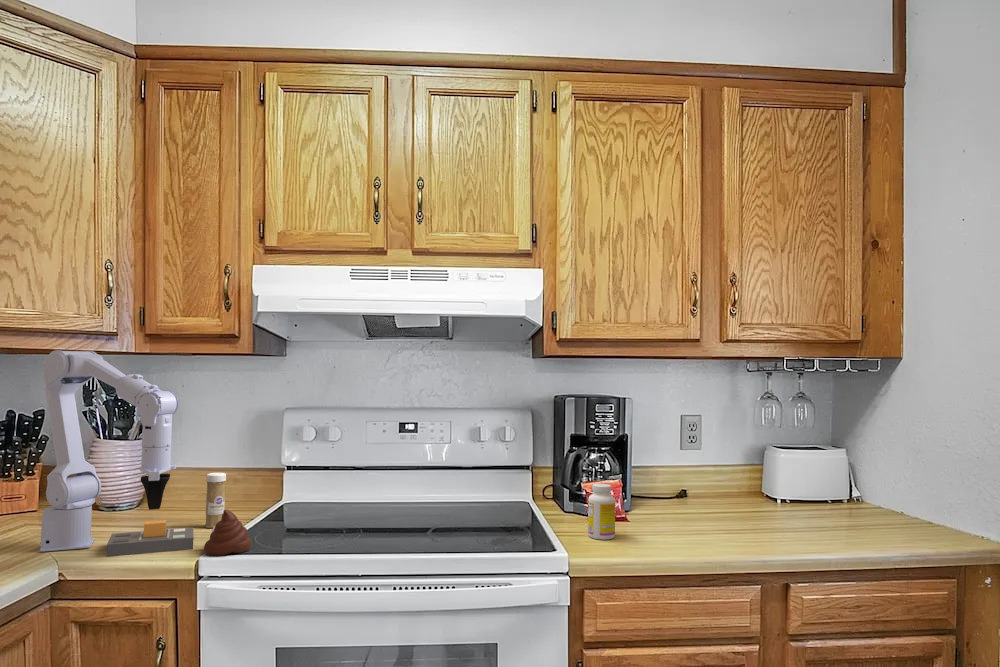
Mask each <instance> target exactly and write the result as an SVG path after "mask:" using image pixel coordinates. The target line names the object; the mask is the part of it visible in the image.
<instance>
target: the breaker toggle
mask: <svg viewBox="0 0 1000 667" xmlns="http://www.w3.org/2000/svg"><path fill="white" fill-rule="evenodd" d="M166 529H167V519H162V520H161V519H160V520H146V521H144V524H143V531H144V537H156V536H165V535H166Z"/></svg>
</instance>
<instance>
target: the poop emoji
mask: <svg viewBox="0 0 1000 667" xmlns="http://www.w3.org/2000/svg"><path fill="white" fill-rule="evenodd" d="M221 519H222V520H221V521H219V522H218V523H217V524H216V525H215V526H214V527H213V528H211V529H212V530H211V533H210V535H209V539H208V540H207V541H206V542H205V543H204V545H203V551H204V553H205V554H206V555H208V556H212V557H220V556H226V555H229V554H231V553H234V554H235V553H236V554H243V553H246V552H248V551H249V550H250V549H251V548H252V543H253V541H252V539H251V538H250V537H249V536H248V535H249V534H248V533H249V532H248V529H247V527H245V526H243V523H242V522H241V521H240V520H239V518H238V517H237V515H236V514H235V513H233V511H230V510H229V509H224V512H223V515H222V518H221Z"/></svg>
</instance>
